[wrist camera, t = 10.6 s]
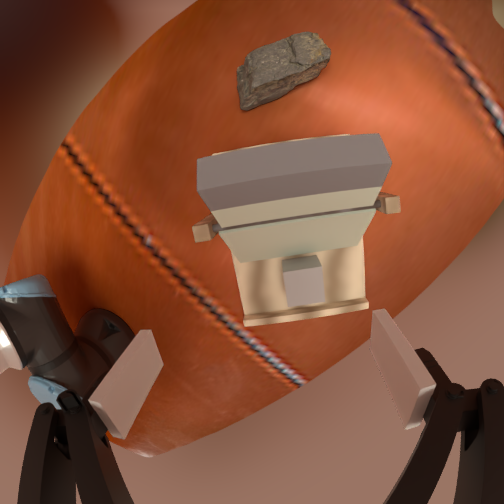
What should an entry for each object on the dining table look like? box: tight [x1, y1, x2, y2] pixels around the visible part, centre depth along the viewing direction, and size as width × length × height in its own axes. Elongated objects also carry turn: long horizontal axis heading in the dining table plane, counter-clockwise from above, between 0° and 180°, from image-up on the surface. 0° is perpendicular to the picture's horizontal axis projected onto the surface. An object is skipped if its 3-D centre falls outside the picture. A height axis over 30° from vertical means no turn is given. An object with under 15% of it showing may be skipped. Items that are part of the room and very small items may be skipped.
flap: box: [197, 133, 392, 263], centre depth 32 cm, size 19×22×4 cm
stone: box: [282, 255, 325, 307], centre depth 41 cm, size 6×6×6 cm
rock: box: [237, 32, 331, 110], centre depth 33 cm, size 17×7×10 cm
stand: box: [192, 134, 401, 327], centre depth 36 cm, size 23×28×14 cm
